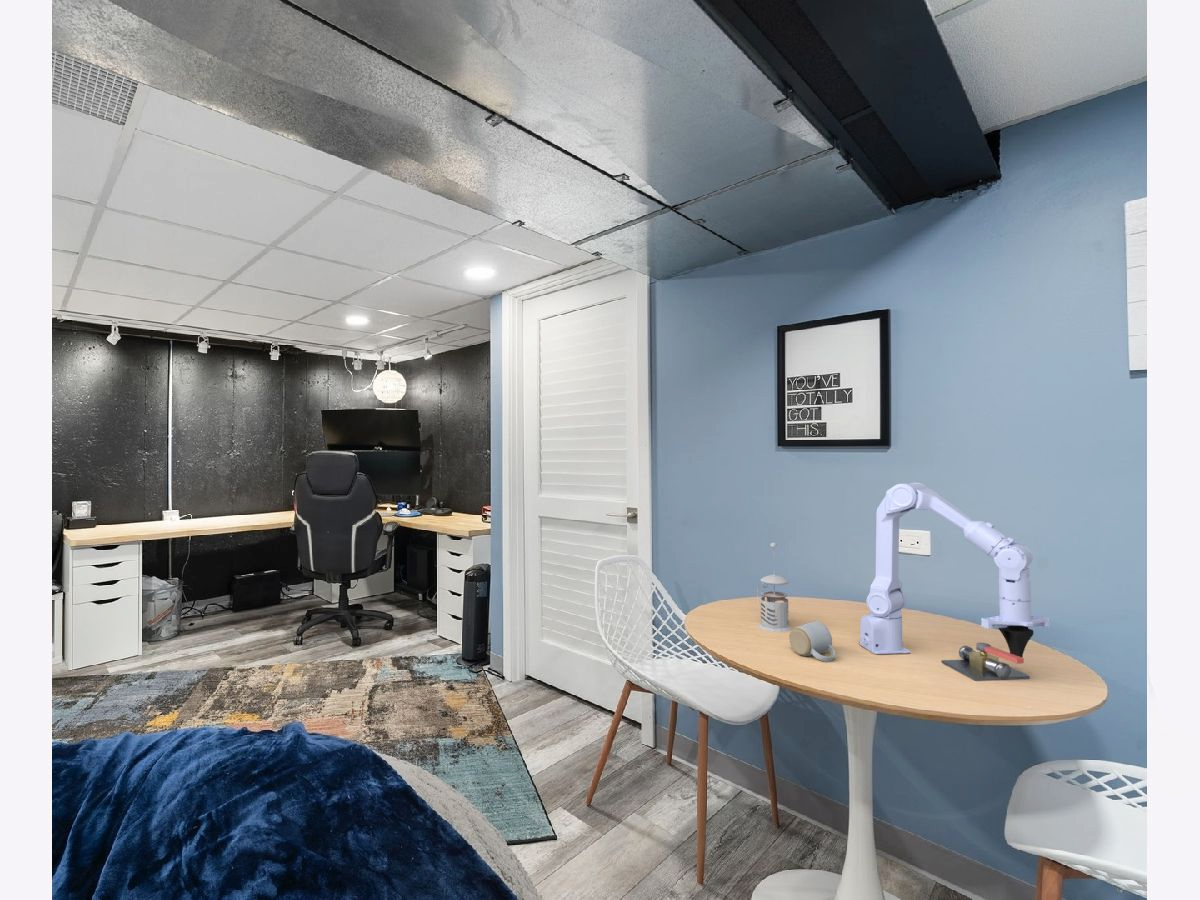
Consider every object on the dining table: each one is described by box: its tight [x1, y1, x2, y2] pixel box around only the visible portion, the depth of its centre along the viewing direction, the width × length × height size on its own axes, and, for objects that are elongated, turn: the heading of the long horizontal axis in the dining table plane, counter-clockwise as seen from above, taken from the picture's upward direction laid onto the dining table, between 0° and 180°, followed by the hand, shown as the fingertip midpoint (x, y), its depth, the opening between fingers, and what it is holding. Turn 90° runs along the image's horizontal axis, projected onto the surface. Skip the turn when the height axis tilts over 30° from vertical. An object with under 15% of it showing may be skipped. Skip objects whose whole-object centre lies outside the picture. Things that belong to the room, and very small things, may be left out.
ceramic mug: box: [788, 620, 836, 663], centre depth 142 cm, size 11×8×8 cm
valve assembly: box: [941, 645, 1031, 682], centre depth 131 cm, size 12×13×4 cm
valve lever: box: [975, 642, 1025, 665], centre depth 127 cm, size 10×3×1 cm, turn 12°
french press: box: [756, 542, 793, 633], centre depth 166 cm, size 10×12×25 cm
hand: (1016, 659), depth 124 cm, fingers closed, pressing on valve lever
